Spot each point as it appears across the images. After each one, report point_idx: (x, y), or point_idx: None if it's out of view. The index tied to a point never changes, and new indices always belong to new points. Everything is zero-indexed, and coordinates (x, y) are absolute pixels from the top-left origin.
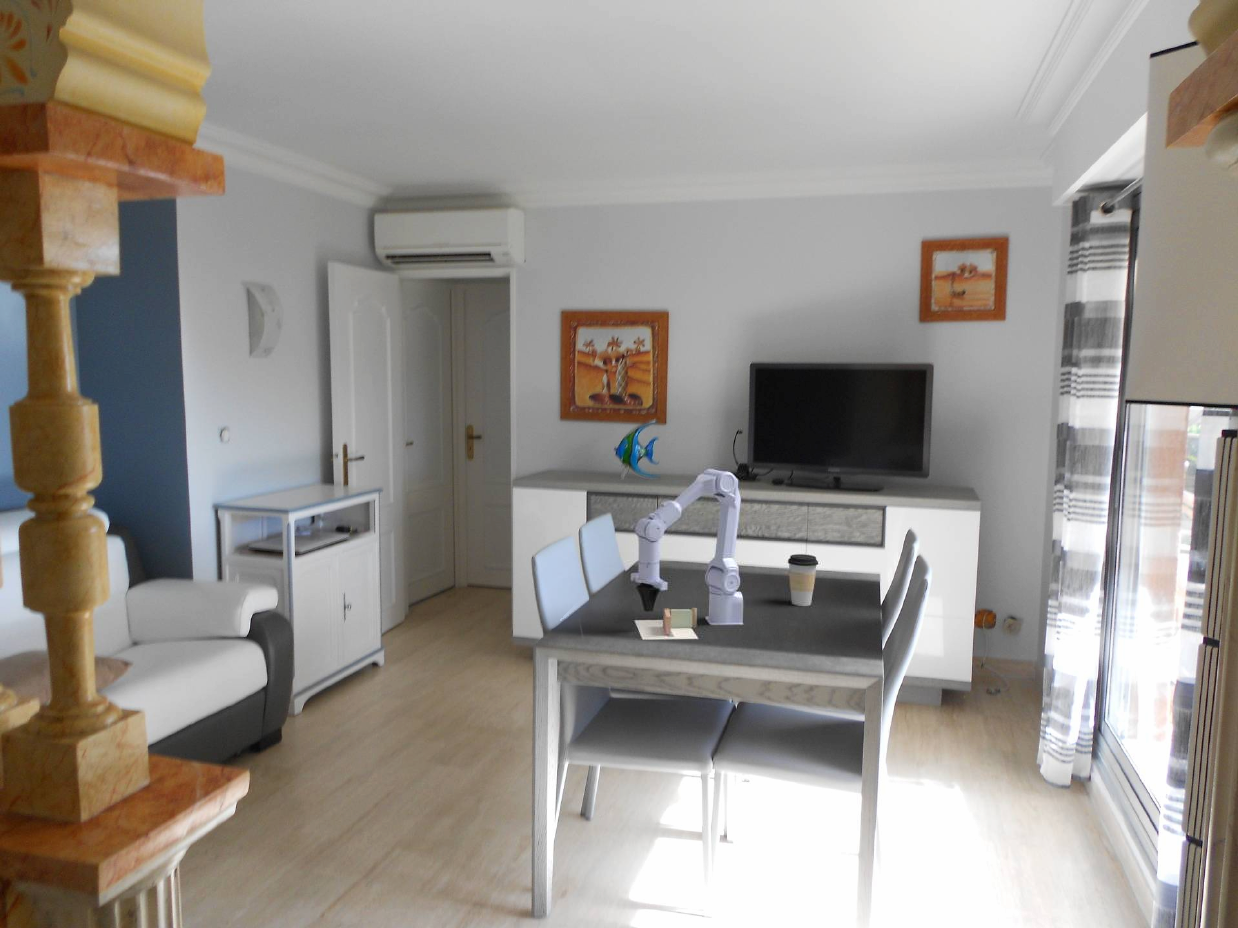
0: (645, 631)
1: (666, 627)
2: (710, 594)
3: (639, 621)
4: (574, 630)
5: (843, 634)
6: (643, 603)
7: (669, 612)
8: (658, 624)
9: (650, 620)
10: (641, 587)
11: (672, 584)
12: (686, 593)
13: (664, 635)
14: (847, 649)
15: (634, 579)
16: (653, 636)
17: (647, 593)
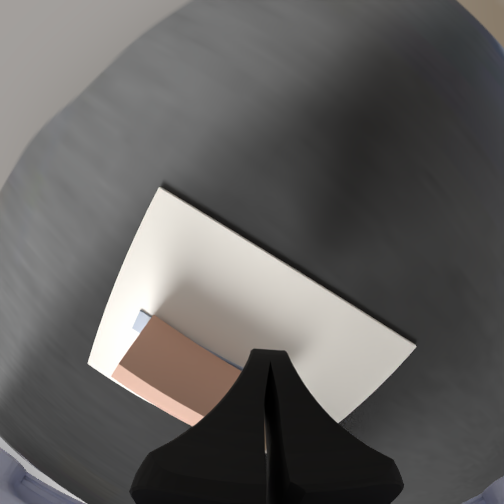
0: (261, 285)
1: (141, 332)
2: None
3: (392, 353)
4: (460, 60)
5: (77, 488)
6: (283, 377)
7: (184, 421)
8: (310, 386)
9: (369, 390)
10: (245, 496)
11: (463, 487)
12: (422, 497)
13: (162, 310)
14: (16, 440)
15: (486, 498)
16: (172, 262)
17: (172, 445)
